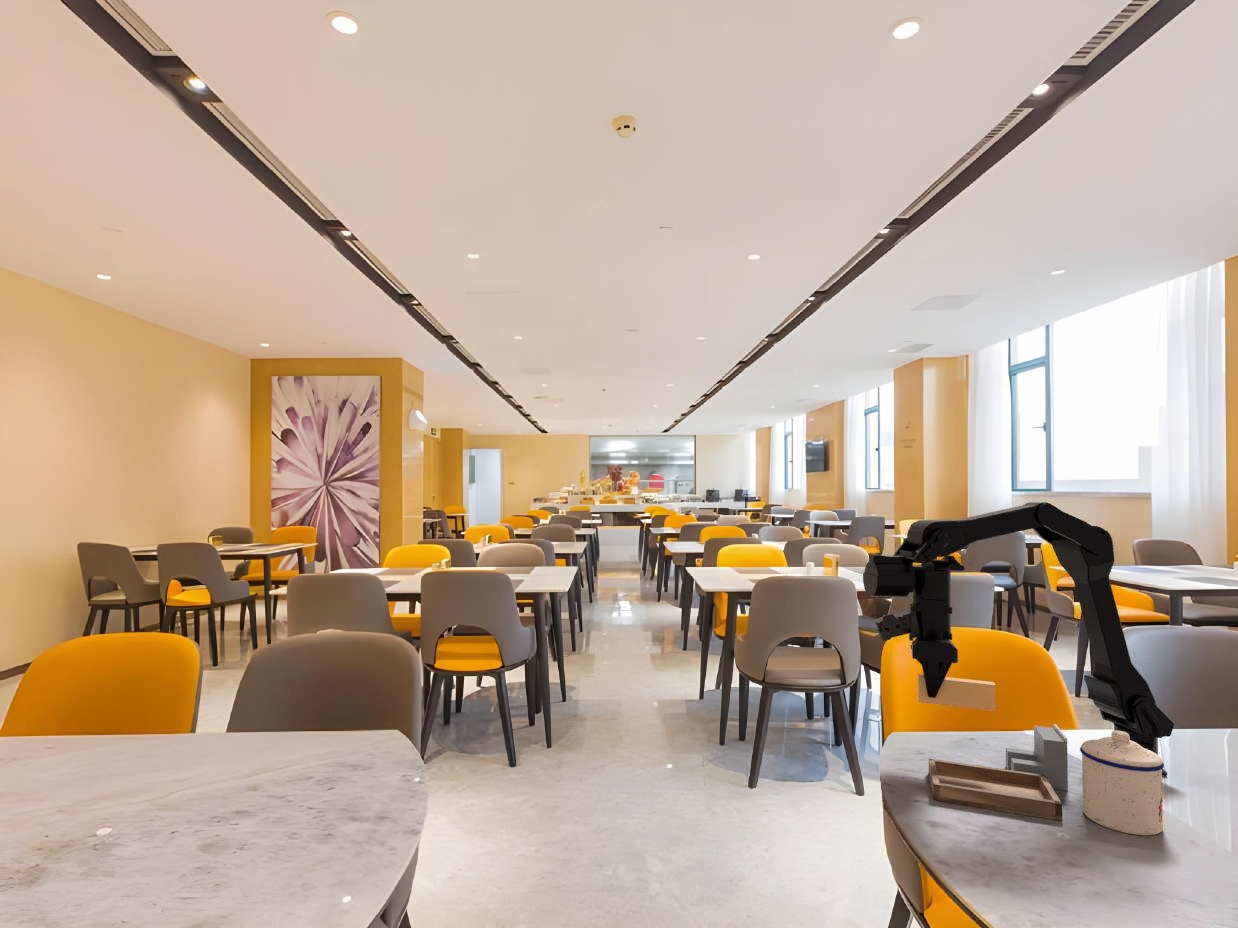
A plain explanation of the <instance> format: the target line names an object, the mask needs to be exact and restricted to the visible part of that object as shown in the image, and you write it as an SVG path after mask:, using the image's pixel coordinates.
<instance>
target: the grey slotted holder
mask: <svg viewBox="0 0 1238 928" xmlns="http://www.w3.org/2000/svg"><path fill="white" fill-rule="evenodd" d="M1033 743H1034V744H1033V746H1034V747H1033V749H1034V750H1028V749H1022V748H1021V749H1019V748H1013V747H1005V768H1006V770H1013V771H1020V772H1027V773H1034V774H1041V775H1045V777H1046V778H1047V780H1048V782H1049V783H1050V785H1051V786H1052V788H1053V790H1059V791H1066V792H1068V791H1069V786H1068V785H1069V784H1068V783H1069V778H1068V775H1069V773H1068V772H1069V771H1068V767H1069V766H1068V737H1067V736H1066V735H1065V733H1064V732H1063V731H1062V730H1061V729H1060V728H1059V726H1058V724H1055V723H1053V727H1050V726H1043V725H1042V726H1040V725H1033Z"/></svg>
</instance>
